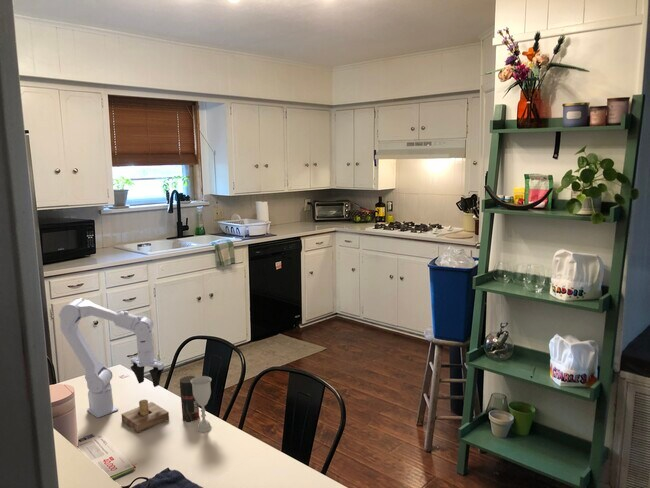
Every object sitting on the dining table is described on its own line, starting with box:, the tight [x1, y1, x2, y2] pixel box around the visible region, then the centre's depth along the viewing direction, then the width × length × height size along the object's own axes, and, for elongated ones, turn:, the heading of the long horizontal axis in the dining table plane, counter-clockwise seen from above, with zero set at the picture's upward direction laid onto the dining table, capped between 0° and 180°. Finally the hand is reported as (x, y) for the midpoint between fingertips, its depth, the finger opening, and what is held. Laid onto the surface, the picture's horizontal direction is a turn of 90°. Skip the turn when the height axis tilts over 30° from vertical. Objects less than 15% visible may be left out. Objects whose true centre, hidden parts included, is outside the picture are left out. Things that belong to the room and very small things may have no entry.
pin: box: [138, 399, 149, 417], centre depth 190 cm, size 3×3×7 cm
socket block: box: [120, 401, 170, 434], centre depth 190 cm, size 12×12×3 cm
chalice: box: [190, 375, 213, 433], centre depth 183 cm, size 7×7×18 cm
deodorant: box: [179, 375, 200, 423], centre depth 190 cm, size 6×6×15 cm
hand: (148, 384), depth 198 cm, fingers open, 7 cm apart
